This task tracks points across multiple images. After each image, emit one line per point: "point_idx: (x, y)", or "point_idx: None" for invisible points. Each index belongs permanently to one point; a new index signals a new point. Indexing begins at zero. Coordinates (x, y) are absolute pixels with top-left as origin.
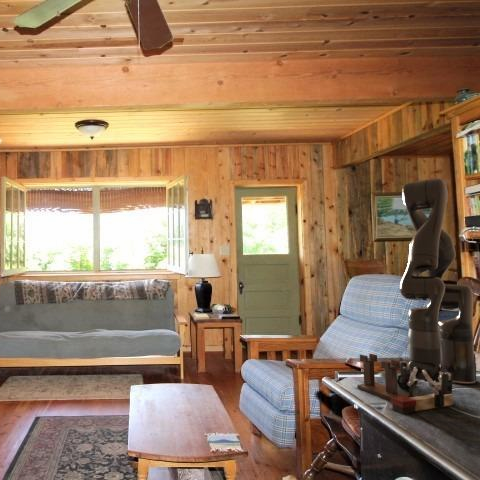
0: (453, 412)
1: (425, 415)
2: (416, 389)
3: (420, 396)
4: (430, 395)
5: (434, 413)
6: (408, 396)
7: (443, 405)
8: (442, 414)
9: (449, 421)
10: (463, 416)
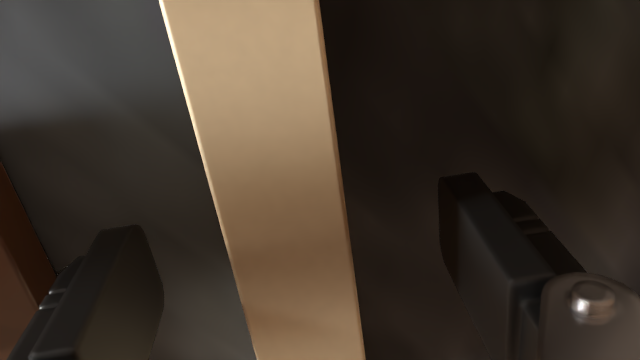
0: (504, 30)
1: (463, 355)
2: (107, 342)
3: (272, 343)
4: (252, 186)
5: None
6: (8, 242)
7: (513, 204)
8: None
9: (637, 277)
10: (634, 28)
